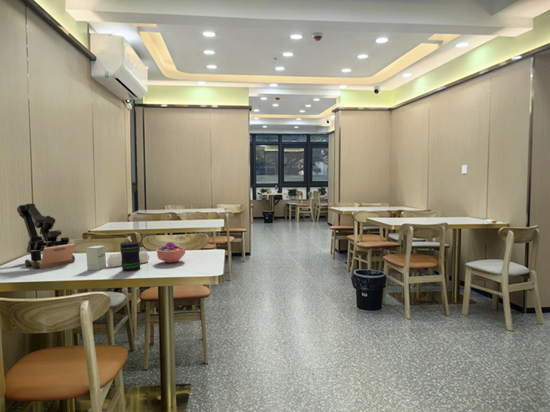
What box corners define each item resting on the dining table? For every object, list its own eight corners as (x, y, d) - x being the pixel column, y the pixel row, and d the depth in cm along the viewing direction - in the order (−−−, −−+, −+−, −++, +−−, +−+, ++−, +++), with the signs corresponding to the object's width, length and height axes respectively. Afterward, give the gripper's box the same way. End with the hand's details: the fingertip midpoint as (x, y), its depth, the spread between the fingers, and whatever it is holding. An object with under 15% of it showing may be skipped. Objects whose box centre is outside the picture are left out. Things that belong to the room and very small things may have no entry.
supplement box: (98, 270, 232) (97, 247, 231) (87, 270, 233) (85, 247, 232) (106, 267, 239) (105, 245, 238) (95, 267, 240) (93, 245, 239)
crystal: (147, 254, 256) (105, 259, 245) (149, 249, 250) (106, 254, 239) (149, 265, 253) (107, 270, 242) (151, 261, 247) (107, 266, 236)
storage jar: (140, 267, 236) (138, 240, 235) (141, 270, 226) (139, 243, 225) (121, 269, 232) (119, 242, 231) (121, 272, 223) (119, 245, 222)
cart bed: (24, 266, 252) (23, 259, 252) (62, 259, 270) (62, 252, 270) (37, 269, 241) (36, 261, 241) (76, 262, 259) (75, 255, 259)
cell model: (155, 266, 235) (154, 246, 234) (157, 260, 254) (156, 241, 253) (185, 264, 238) (184, 244, 237) (186, 258, 258) (185, 239, 257)
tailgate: (41, 263, 243) (43, 247, 239) (70, 258, 257) (73, 243, 253) (42, 265, 242) (45, 249, 238) (72, 260, 256) (75, 245, 252)
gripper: (34, 227, 243) (44, 247, 237) (66, 224, 258) (76, 243, 252) (30, 240, 249) (39, 260, 243) (61, 235, 263) (71, 254, 257)
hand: (57, 254), depth 248 cm, fingers closed, pressing on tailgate
